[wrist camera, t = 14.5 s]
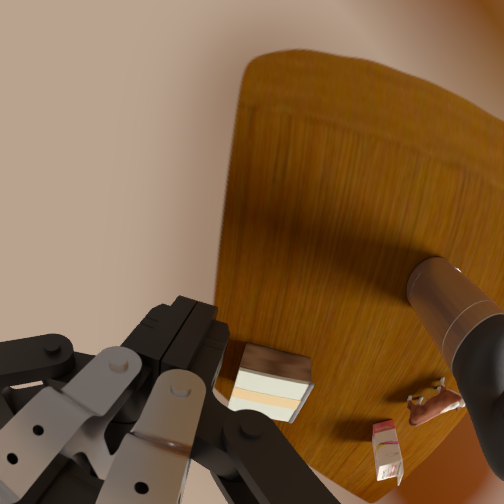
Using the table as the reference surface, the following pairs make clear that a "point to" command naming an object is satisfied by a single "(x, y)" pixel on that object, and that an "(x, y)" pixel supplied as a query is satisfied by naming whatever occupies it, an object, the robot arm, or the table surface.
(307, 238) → the table surface
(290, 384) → the lid
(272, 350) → the box
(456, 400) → the bull figurine
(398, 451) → the ink cartridge box
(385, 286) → the table surface
